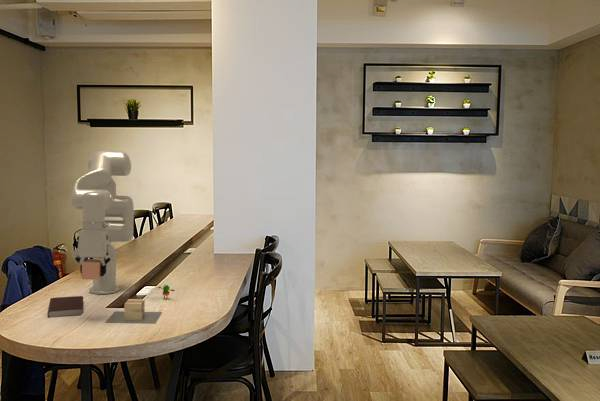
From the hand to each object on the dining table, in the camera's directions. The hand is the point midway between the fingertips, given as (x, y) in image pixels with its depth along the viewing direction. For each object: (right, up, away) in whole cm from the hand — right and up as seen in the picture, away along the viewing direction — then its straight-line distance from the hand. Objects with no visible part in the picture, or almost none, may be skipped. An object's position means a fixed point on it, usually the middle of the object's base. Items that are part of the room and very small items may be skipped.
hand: (93, 274), depth 196 cm
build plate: (+13, -18, +6) cm, 23 cm away
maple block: (+13, -17, +6) cm, 22 cm away
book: (-16, -16, +15) cm, 28 cm away
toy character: (+18, -16, +35) cm, 43 cm away
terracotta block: (0, -1, 0) cm, 1 cm away
